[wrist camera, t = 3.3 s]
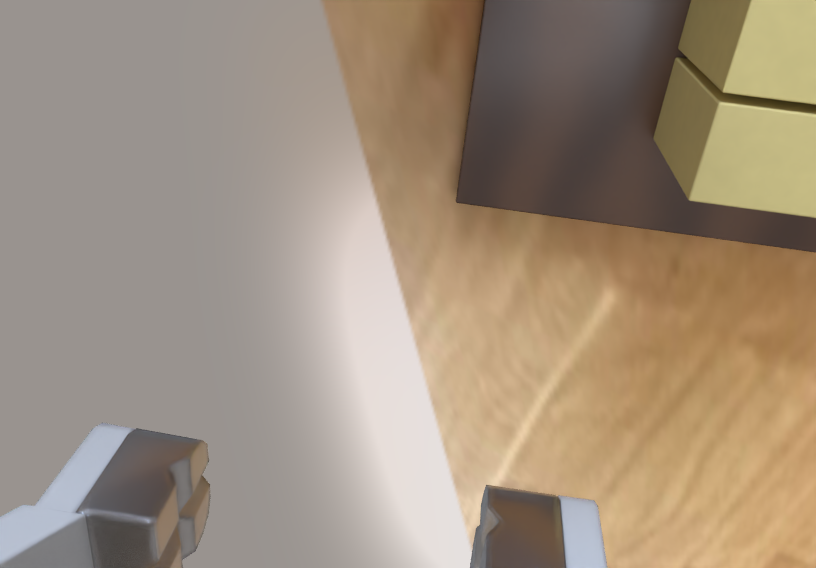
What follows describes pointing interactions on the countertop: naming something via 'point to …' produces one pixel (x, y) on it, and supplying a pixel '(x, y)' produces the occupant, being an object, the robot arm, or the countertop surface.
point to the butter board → (590, 121)
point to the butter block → (754, 46)
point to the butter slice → (737, 145)
